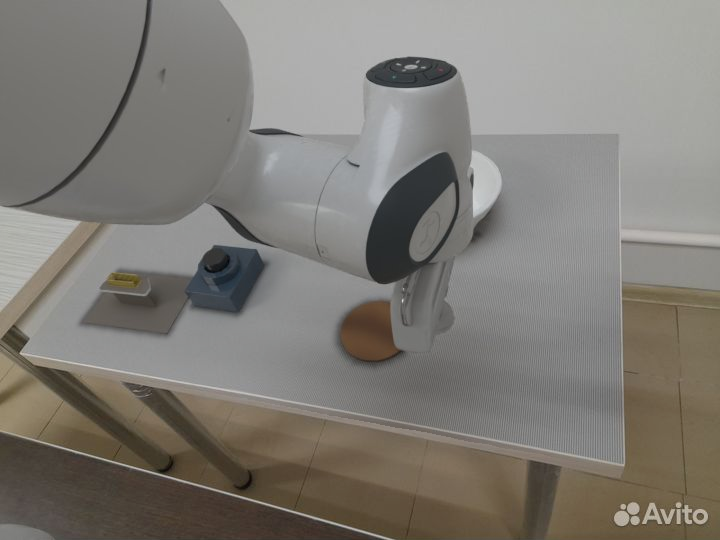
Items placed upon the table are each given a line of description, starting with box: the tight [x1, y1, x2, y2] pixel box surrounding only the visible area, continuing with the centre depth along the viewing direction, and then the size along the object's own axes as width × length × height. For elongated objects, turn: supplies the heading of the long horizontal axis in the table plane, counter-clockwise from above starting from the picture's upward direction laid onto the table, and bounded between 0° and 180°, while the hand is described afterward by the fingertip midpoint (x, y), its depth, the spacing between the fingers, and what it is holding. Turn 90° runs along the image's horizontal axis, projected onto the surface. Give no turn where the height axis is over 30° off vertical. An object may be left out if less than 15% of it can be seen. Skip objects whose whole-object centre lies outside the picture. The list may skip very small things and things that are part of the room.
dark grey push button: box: [201, 248, 229, 273], centre depth 89 cm, size 4×4×2 cm
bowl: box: [470, 149, 503, 229], centre depth 92 cm, size 21×21×8 cm
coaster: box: [340, 300, 402, 363], centre depth 81 cm, size 11×11×1 cm
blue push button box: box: [185, 244, 265, 314], centre depth 91 cm, size 11×9×6 cm
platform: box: [83, 271, 192, 334], centre depth 93 cm, size 12×18×7 cm, turn 75°
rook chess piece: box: [435, 299, 456, 336], centre depth 61 cm, size 4×4×8 cm
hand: (436, 306), depth 61 cm, fingers closed on rook chess piece, 3 cm apart
